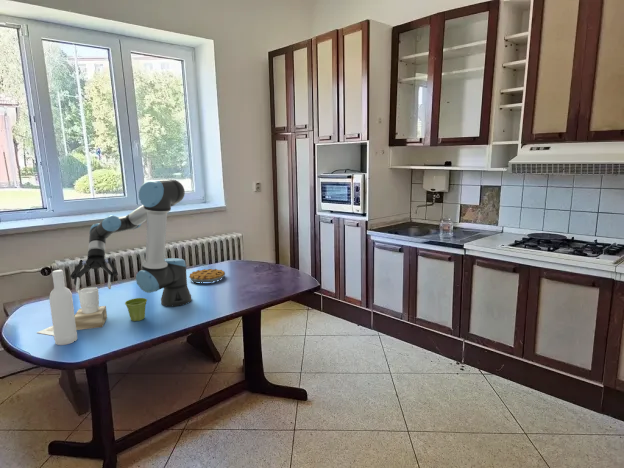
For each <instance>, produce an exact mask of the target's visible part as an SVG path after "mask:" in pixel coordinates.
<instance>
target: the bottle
mask: <svg viewBox="0 0 624 468" xmlns="http://www.w3.org/2000/svg"><path fill="white" fill-rule="evenodd" d="M51 277H52V281H53V289H52V290H51V292H50V293H49V297H48V298H49V306H50V315H51V320H52V326H53V330H54V342H55V345H58V346H65V345H70V344H73V343H74V341H75V342H76V341H77V340H78V332H77V331H78V330H76V323H75V308H74V301H73V293H72V292H71V289H70V288H68V287H66V286H65V285H66V284H65V278H64V271H63V270H62V269H56V270H53V271H51Z"/></svg>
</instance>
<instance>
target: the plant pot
mask: <svg viewBox="0 0 624 468" xmlns="http://www.w3.org/2000/svg"><path fill="white" fill-rule="evenodd" d="M147 301H148V299H147V298H146V297H145V298H143V297H136V298H131V299H128V300H126V301H125V303H124V305H125V306H126V308H127V311H128V314H129V318H130V321H132V322H137V321H144V319H145V317H146V305H147Z"/></svg>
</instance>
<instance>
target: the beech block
mask: <svg viewBox="0 0 624 468" xmlns="http://www.w3.org/2000/svg"><path fill="white" fill-rule="evenodd" d="M107 312H108V311H107V305H102V306H100V305H99V310H98V311H97V312H94V313H90V314H84V313H82V309H81V307H79V309H78V310H77V311H76V312H75V313H74V315H75V323H76V331H79V330H86V329H87V330H89V329H90V330H91V329H97V328H103V327H104V325H105V322H106V321H107V318H108V313H107Z"/></svg>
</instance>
